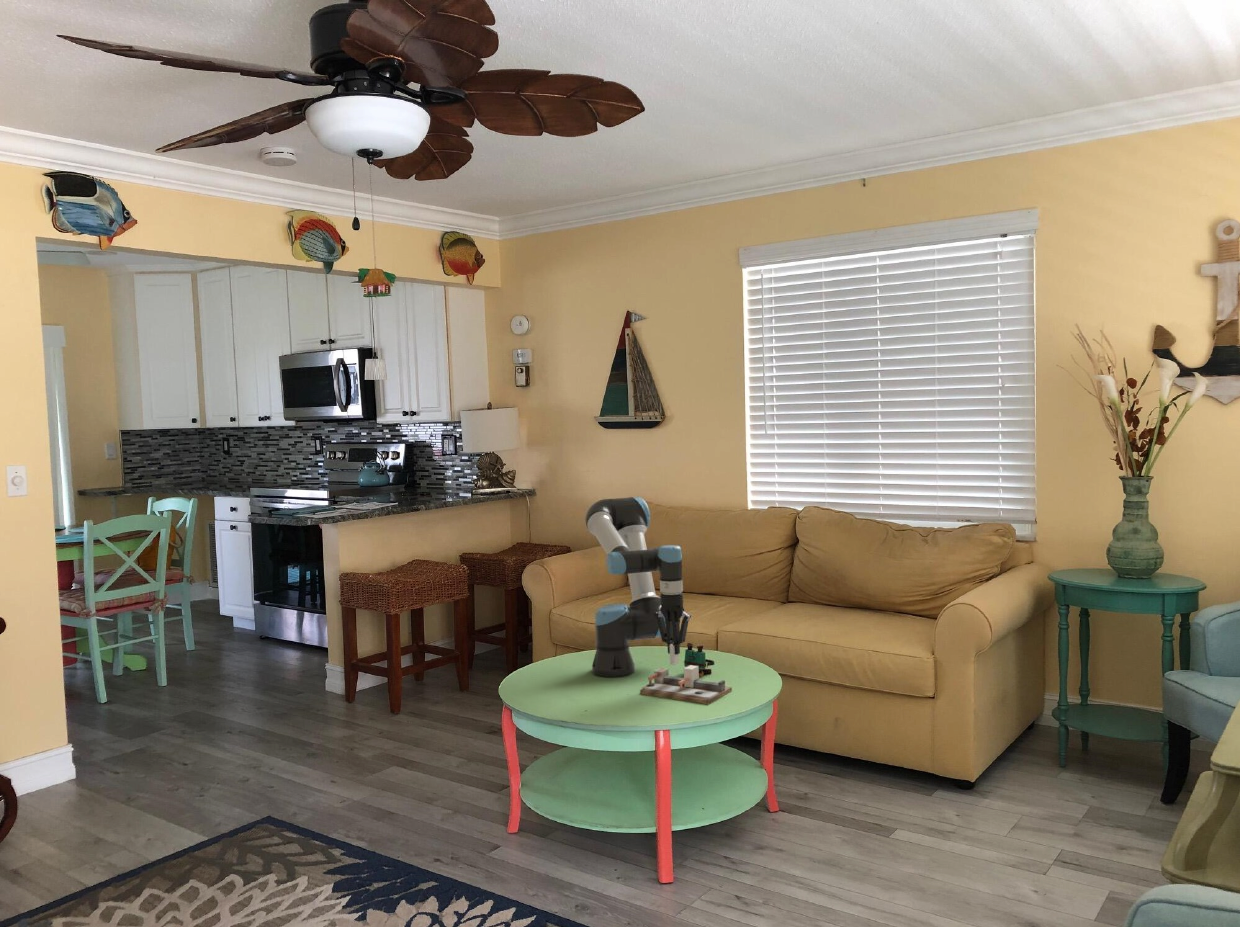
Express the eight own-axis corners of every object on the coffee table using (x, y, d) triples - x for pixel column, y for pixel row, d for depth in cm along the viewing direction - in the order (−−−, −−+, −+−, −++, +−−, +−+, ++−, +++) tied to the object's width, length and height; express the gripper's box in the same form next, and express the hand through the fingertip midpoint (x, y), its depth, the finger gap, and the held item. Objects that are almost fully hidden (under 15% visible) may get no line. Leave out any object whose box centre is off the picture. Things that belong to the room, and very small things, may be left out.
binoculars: (718, 643, 328) (700, 646, 321) (717, 674, 328) (699, 677, 321) (698, 640, 334) (680, 643, 327) (697, 670, 334) (679, 673, 327)
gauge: (640, 693, 306) (639, 677, 305) (665, 680, 319) (664, 665, 319) (708, 704, 292) (708, 687, 292) (731, 690, 305) (731, 674, 305)
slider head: (676, 691, 302) (675, 672, 302) (691, 683, 310) (690, 665, 310) (684, 692, 300) (683, 673, 300) (699, 684, 309) (698, 666, 308)
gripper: (648, 593, 310) (651, 664, 311) (683, 595, 303) (685, 668, 304) (660, 589, 316) (663, 659, 317) (694, 592, 309) (697, 663, 310)
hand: (674, 663), depth 310 cm, fingers closed
